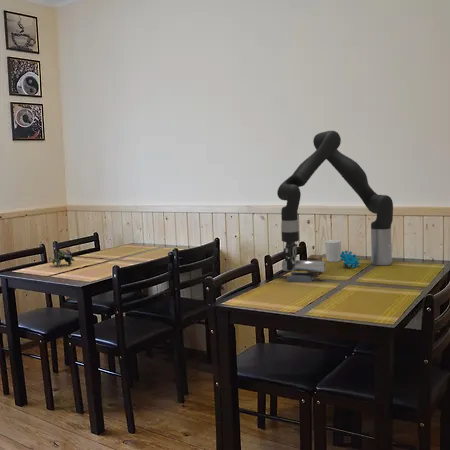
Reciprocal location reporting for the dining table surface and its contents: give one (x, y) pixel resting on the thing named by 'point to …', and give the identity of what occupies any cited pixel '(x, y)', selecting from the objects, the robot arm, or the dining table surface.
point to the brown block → (315, 258)
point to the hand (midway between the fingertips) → (291, 268)
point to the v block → (300, 277)
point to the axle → (305, 265)
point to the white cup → (333, 250)
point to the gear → (349, 259)
